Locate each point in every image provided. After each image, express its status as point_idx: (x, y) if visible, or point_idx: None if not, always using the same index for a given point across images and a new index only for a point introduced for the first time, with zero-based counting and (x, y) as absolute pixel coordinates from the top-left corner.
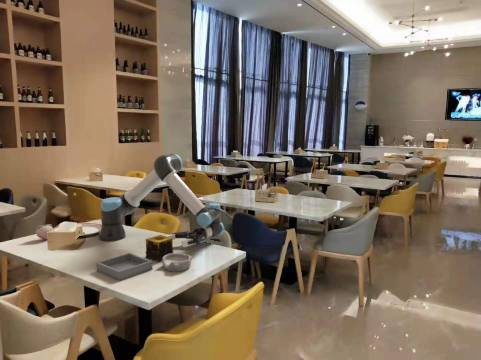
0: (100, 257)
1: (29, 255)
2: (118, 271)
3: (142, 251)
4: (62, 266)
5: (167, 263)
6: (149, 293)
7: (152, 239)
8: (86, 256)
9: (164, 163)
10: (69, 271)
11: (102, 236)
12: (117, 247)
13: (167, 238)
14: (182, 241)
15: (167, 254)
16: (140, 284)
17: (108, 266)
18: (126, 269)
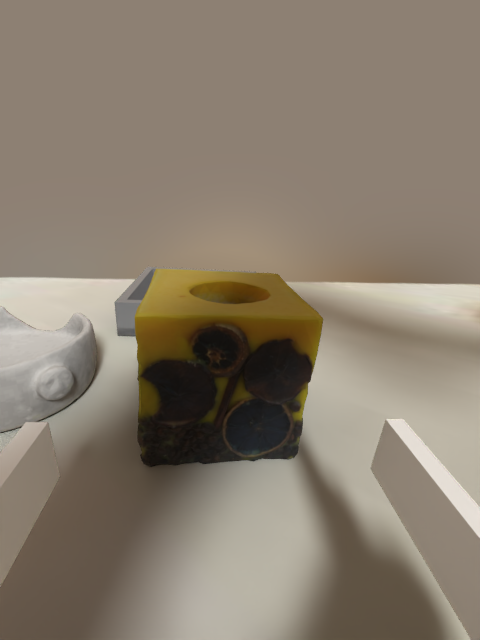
0: (368, 321)
1: (448, 287)
2: (151, 267)
3: (390, 410)
4: (333, 286)
5: (56, 343)
6: (16, 286)
7: (240, 277)
8: (397, 313)
9: None
10: (291, 283)
11: None
12: None
13: (172, 302)
14: (42, 427)
15: (82, 332)
16: (75, 294)
17: (204, 270)
18: (142, 272)
